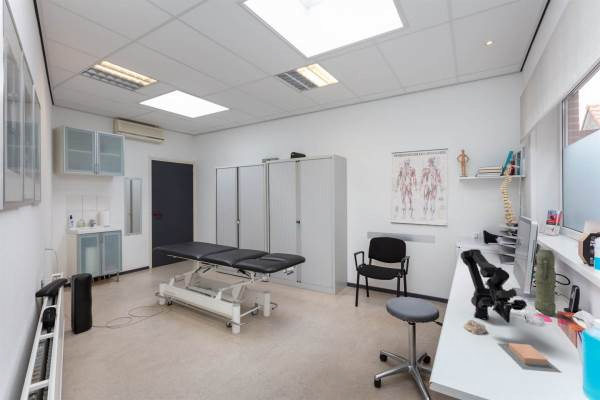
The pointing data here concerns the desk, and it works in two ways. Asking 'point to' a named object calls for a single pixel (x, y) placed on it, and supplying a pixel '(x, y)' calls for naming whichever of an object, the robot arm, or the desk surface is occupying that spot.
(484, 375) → the desk surface
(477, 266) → the robot arm
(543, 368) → the mat
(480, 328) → the rock
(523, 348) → the tile
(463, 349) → the desk surface
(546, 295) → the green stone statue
